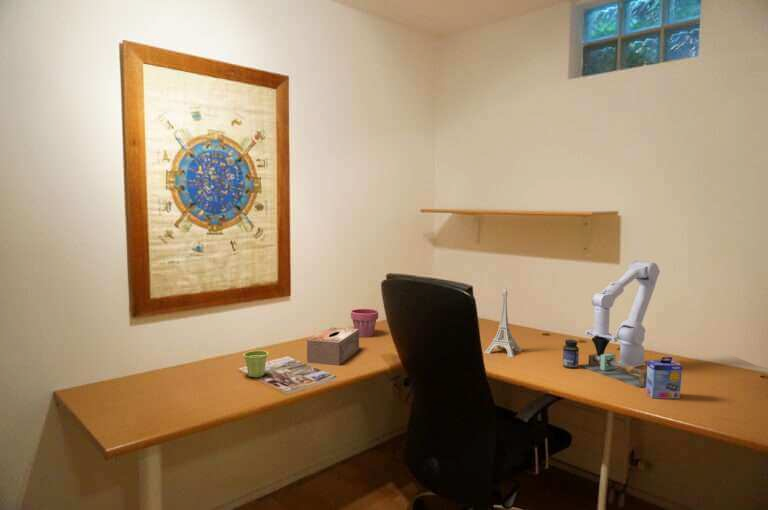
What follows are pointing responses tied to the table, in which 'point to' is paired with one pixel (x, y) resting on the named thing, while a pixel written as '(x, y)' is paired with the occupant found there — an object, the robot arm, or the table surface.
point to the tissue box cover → (332, 346)
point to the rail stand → (618, 371)
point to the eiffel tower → (504, 327)
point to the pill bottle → (570, 354)
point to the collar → (604, 361)
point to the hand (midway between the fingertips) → (600, 355)
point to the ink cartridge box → (663, 378)
